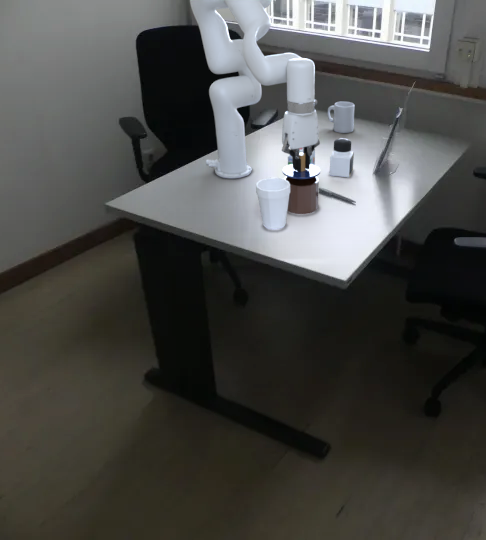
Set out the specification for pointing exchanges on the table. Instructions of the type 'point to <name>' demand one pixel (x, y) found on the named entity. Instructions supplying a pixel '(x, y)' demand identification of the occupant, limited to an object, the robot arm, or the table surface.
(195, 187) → the table surface
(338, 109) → the mug
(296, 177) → the lid
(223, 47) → the robot arm
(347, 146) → the medicine bottle
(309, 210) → the brown cup
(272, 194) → the foam cup
